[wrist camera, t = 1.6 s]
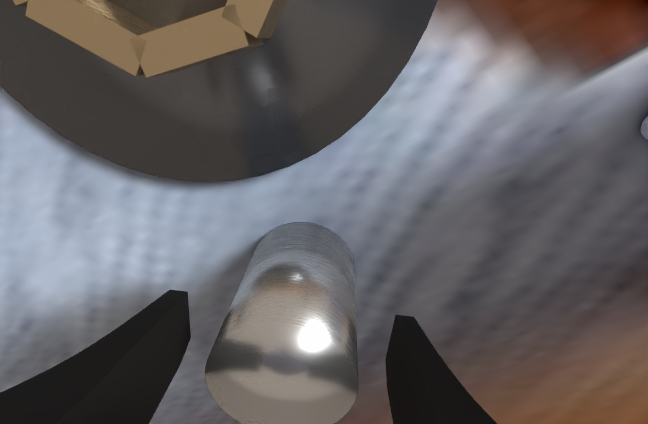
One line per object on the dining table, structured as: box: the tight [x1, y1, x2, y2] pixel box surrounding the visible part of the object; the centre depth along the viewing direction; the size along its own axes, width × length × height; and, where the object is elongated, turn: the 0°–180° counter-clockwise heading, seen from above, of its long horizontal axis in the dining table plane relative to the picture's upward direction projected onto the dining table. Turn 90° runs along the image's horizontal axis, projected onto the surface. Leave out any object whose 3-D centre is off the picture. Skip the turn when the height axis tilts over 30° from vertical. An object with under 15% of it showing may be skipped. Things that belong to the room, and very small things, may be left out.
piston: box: [205, 222, 358, 424], centre depth 13 cm, size 4×4×6 cm
